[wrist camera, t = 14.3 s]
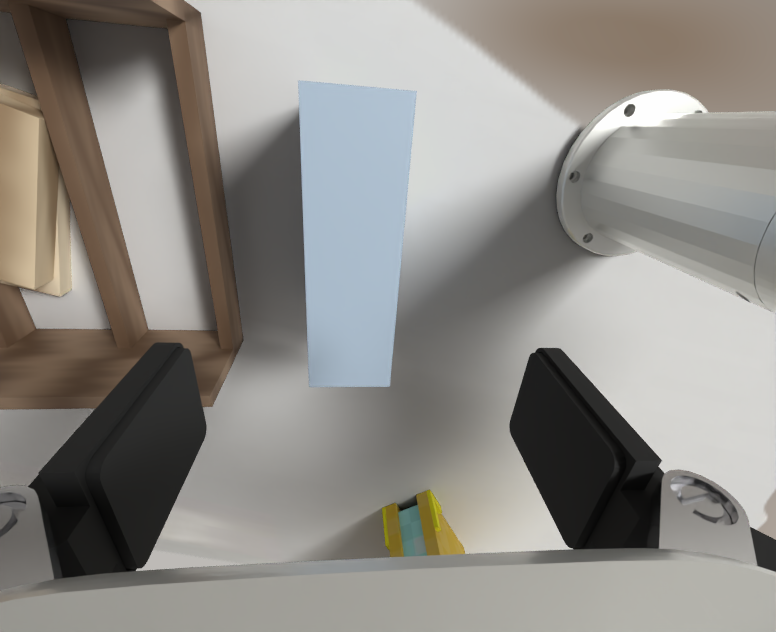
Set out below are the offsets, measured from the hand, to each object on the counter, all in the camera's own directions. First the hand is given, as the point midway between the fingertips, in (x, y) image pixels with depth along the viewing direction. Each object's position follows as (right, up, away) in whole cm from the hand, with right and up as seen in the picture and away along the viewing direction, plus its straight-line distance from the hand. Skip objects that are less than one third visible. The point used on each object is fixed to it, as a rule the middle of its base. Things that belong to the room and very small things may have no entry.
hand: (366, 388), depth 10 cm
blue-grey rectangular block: (-2, +10, +20) cm, 22 cm away
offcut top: (-25, +11, +15) cm, 31 cm away
